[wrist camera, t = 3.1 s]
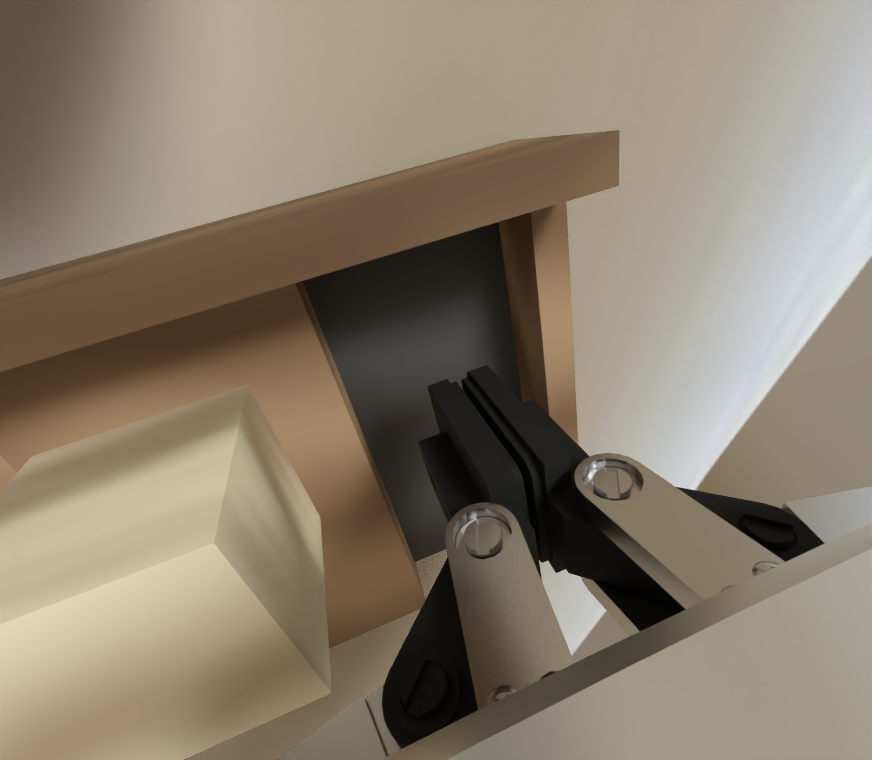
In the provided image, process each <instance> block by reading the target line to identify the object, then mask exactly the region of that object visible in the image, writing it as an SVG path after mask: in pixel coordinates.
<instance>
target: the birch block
mask: <svg viewBox="0 0 872 760" xmlns="http://www.w3.org/2000/svg"><path fill="white" fill-rule="evenodd" d="M331 693H332V685H331V670H330V655H329V640H328V625H327V610H326V595H325V580H324V565H323V550H322V535H321V520H320V516H319V514H318V512H317V510H316V508H315V506H314V505H313V503H312V501H311V499H310V497H309V496H308V494H307V492H306V490H305V488H304V486H303V485H302V483H301V481H300V479H299V477H298V475H297V474H296V472H295V470H294V468H293V466H292V464H291V463H290V461H289V459H288V457H287V455H286V453H285V452H284V450H283V448H282V446H281V444H280V442H279V441H278V439H277V437H276V435H275V433H274V431H273V430H272V428H271V426H270V424H269V422H268V420H267V419H266V417H265V415H264V413H263V411H262V410H261V408H260V406H259V404H258V402H257V400H256V399H255V397H254V395H253V393H252V391H251V389H250V388H249V386H248V385H245V386H242V387H239V388H236V389H233V390H230V391H227V392H224V393H221V394H218V395H215V396H212V397H209V398H206V399H203V400H200V401H197V402H194V403H191V404H188V405H185V406H182V407H179V408H176V409H173V410H170V411H167V412H164V413H161V414H158V415H155V416H152V417H149V418H146V419H143V420H140V421H137V422H134V423H131V424H128V425H125V426H122V427H118V428H115V429H112V430H109V431H106V432H103V433H100V434H97V435H94V436H91V437H88V438H85V439H82V440H79V441H76V442H73V443H70V444H67V445H64V446H61V447H58V448H55V449H52V450H49V451H46V452H43V453H40V454H37V455H34V456H32V457H31V458H30V459H29V460H28V461H27V462H26V463H25V465H24V466H23V467H22V468H21V469H20V470H19V471H18V472H17V474H16V475H15V476H14V477H13V478H12V479H11V480H10V481H9V482H8V484H7V485H6V486H5V487H4V488H3V489H2V490H1V491H0V760H184V759H187V758H189V757H191V756H193V755H195V754H198V753H200V752H202V751H204V750H207V749H209V748H211V747H213V746H215V745H218V744H220V743H222V742H224V741H227V740H229V739H231V738H233V737H235V736H238V735H240V734H242V733H244V732H247V731H249V730H251V729H253V728H255V727H258V726H260V725H262V724H264V723H267V722H269V721H271V720H273V719H276V718H278V717H280V716H282V715H284V714H287V713H289V712H291V711H293V710H296V709H298V708H300V707H302V706H304V705H307V704H309V703H311V702H313V701H316V700H318V699H320V698H322V697H324V696H327V695H329V694H331Z"/></svg>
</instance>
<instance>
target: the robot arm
mask: <svg viewBox="0 0 872 760" xmlns="http://www.w3.org/2000/svg"><path fill="white" fill-rule="evenodd" d="M461 383H462V388H463V390H462V388H461V387H460V385H459V384H458V383H457V382H453V383H450V382H449V380H448V379H445V380H442V381H440V382H437V383H434V384H431V385H428V392H429V395H430V399H431V403H432V406H433V410H434V413H435V417H436V421H437V424H438V428H439V432H440V433H439V434H437V435H434V436H431V437H428V438H426V439H423V440H420V441H418V444H419V447H420V451H421V454H422V457H423V460H424V463H425V466H426V469H427V472H428V475H429V478H430V480H431V483H432V486H433V488H434V491H435V493H436V496H437V498H438V501H439V503H440V505H441V508H442V510H443V513H444V515H445V517H446V520H447V522H448V526H447V529H446V531H445V543H446V548H447V553H448V558H447V560H446V562H445V564H444V566H443V568H442V569H441V571H440V573H439V575H438V577H437V579H436V581H435V583H434V585H433V587H432V589H431V591H430V593H429V595H428V597H427V599H426V601H425V603H424V604H423V606H422V608H421V610H420V612H419V614H418V616H417V618H416V620H415V622H414V624H413V626H412V628H411V630H410V632H409V634H408V636H407V638H406V639H405V641H404V643H403V645H402V647H401V649H400V651H399V653H398V655H397V657H396V659H395V661H394V663H393V665H392V667H391V669H390V671H389V673H388V676H387V678H386V681H385V684H384V685H383V686H381V687H380V688H379V689H378V690H376V691H375V692H374V693H372V694H371V695H370V696H369V697H367V698H366V699H365V697H364V696H363V694H362V695H361V696H360V697H358V698H357V699H356V700H355V701H353V702H352V703H351V704H349V705H348V706H347V707H345V708H344V709H343V710H341V711H340V712H339V713H338V714H336V715H335V716H334V717H332V718H331V719H330V720H328V721H327V722H326V723H325V724H323V725H322V726H321V727H319V728H318V729H317V730H315V731H314V732H313V733H311V734H310V735H309V736H308V737H306V738H305V739H304V740H302V741H301V742H300V743H298V744H297V745H296V746H294V747H293V748H292V749H291V750H289V751H288V752H287V753H285V754H284V755H283V756H281V757H280V758H279V759H278V760H872V486H871V487H866V488H860V489H855V490H849V491H844V492H839V493H833V494H827V495H822V496H817V497H811V498H806V499H800V500H796V501H790V502H784V504H783V507H782V508H781V509H780V508H778V507H774V506H771V505H767V504H764V503H759V502H754V501H748V500H743V499H738V498H732V497H727V496H722V495H716V494H711V493H706V492H700V491H695V490H690V489H684V488H679V487H675V486H673V485H672V484H670V483H669V482H667V481H666V480H664V479H663V478H662V477H660V476H659V475H657V474H656V473H654V472H653V471H651V470H650V469H648V468H647V467H645V466H644V465H642V464H641V463H639V462H638V461H636V460H634V459H632V458H630V457H627V456H623V455H620V454H611V453H604V454H597V455H593V456H591V457H590V456H589V455H588V454H587V453H586V452H585V451H584V450H583V449H582V448H581V447H580V446H579V445H578V444H577V443H576V442H575V441H574V440H573V439H572V438H571V437H570V436H569V435H568V434H567V433H566V432H565V431H564V430H563V429H562V428H561V427H560V426H559V425H558V424H557V423H556V422H555V421H554V420H553V419H552V418H551V417H550V416H549V415H548V414H547V413H546V412H545V411H544V410H543V409H542V408H541V407H540V406H539V405H538V404H537V403H536V402H535V401H533V400H528V401H525V402H521V401H520V400H519V399H518V398H517V397H516V396H515V395H514V393H513V392H512V391H511V390H510V389H509V388H508V387H507V386H506V385H505V384H504V383H503V382H502V381H501V380H500V378H499V377H498V376H497V375H496V374H495V373H494V372H493V371H492V370H491V369H490V368H489V367H488V366H487V365H485V366H482V367H479V368H476V369H474V370H471V371H468V372H467V378H464V379H462V380H461ZM539 560H540V561H541V562H542V563H543V562H545V561H547V560H548V561H549V563H550V564H551V566H552V567H553V569H554V570H555V572H556V573H558V572H560V571H562V570H564V569H566V570H567V571H568V573H571V574H574V575H577V576H580V577H581V578H582V581H583V583H584V584H585V586H586V587H587V589H588V590H589V591H590V592H591V593H592V594H593V595H594V597H595V598H596V599H597V600H598V601H599V602H600V603H601V604H602V606H603V607H604V608H605V609H606V610H607V611H608V612H609V613H610V615H611V616H612V617H613V618H614V619H615V620H616V621H617V622H618V623H619V624H620V626H621V627H622V628H623V629H624V630H625V631H626V632H627V634H628V635H629V636H630V637H628V638H626V639H624V640H622V641H620V642H617V643H615V644H613V645H611V646H609V647H607V648H605V649H603V650H601V651H599V652H597V653H595V654H593V655H591V656H588V657H586V658H584V659H582V660H580V661H578V662H576V663H574V661H573V659H572V656H571V654H570V651H569V649H568V646H567V644H566V641H565V639H564V636H563V634H562V631H561V629H560V626H559V624H558V621H557V618H556V616H555V613H554V611H553V608H552V606H551V603H550V601H549V598H548V596H547V593H546V591H545V588H544V586H543V583H542V579H541V572H540V565H539Z"/></svg>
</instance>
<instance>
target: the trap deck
mask: <svg viewBox="0 0 872 760" xmlns="http://www.w3.org/2000/svg"><path fill="white" fill-rule="evenodd" d="M616 186H619V130H618V131H607V132H596V133H585V134H574V135H563V136H552V137H541V138H530V139H519V140H513V141H509V142H506V143H502V144H498V145H495V146H491V147H487V148H484V149H480V150H476V151H473V152H469V153H465V154H462V155H458V156H454V157H450V158H447V159H443V160H439V161H436V162H432V163H428V164H425V165H421V166H417V167H414V168H410V169H406V170H403V171H399V172H395V173H392V174H388V175H384V176H381V177H377V178H373V179H370V180H366V181H362V182H359V183H355V184H351V185H348V186H344V187H340V188H337V189H333V190H329V191H326V192H322V193H318V194H315V195H311V196H307V197H304V198H300V199H296V200H293V201H289V202H285V203H282V204H278V205H274V206H271V207H267V208H263V209H259V210H256V211H252V212H248V213H245V214H241V215H237V216H234V217H230V218H226V219H223V220H219V221H215V222H212V223H208V224H204V225H201V226H197V227H193V228H190V229H186V230H182V231H179V232H175V233H171V234H168V235H164V236H160V237H157V238H153V239H149V240H146V241H142V242H138V243H135V244H131V245H127V246H124V247H120V248H116V249H113V250H109V251H105V252H102V253H98V254H94V255H91V256H87V257H83V258H80V259H76V260H72V261H68V262H65V263H61V264H57V265H54V266H50V267H46V268H43V269H39V270H35V271H32V272H28V273H24V274H21V275H17V276H13V277H10V278H6V279H2V280H0V491H1V490H2V489H3V488H4V487H5V486H6V485H7V484H8V482H9V481H10V480H11V479H12V478H13V477H14V476H15V475H16V474H17V472H18V471H19V470H20V469H21V468H22V467H23V466H24V465H25V463H26V462H27V461H28V460H29V459H30V458H31V457H32V456H34V455H37V454H40V453H43V452H46V451H49V450H52V449H55V448H58V447H61V446H64V445H67V444H70V443H73V442H76V441H79V440H82V439H85V438H88V437H91V436H94V435H97V434H100V433H103V432H106V431H109V430H112V429H115V428H118V427H122V426H125V425H128V424H131V423H134V422H137V421H140V420H143V419H146V418H149V417H152V416H155V415H158V414H161V413H164V412H167V411H170V410H173V409H176V408H179V407H182V406H185V405H188V404H191V403H194V402H197V401H200V400H203V399H206V398H209V397H212V396H215V395H218V394H221V393H224V392H227V391H230V390H233V389H236V388H239V387H242V386H245V385H248V386H249V388H250V389H251V391H252V393H253V395H254V397H255V399H256V400H257V402H258V404H259V406H260V408H261V410H262V411H263V413H264V415H265V417H266V419H267V420H268V422H269V424H270V426H271V428H272V430H273V431H274V433H275V435H276V437H277V439H278V441H279V442H280V444H281V446H282V448H283V450H284V452H285V453H286V455H287V457H288V459H289V461H290V463H291V464H292V466H293V468H294V470H295V472H296V474H297V475H298V477H299V479H300V481H301V483H302V485H303V486H304V488H305V490H306V492H307V494H308V496H309V497H310V499H311V501H312V503H313V505H314V506H315V508H316V510H317V512H318V514H319V516H320V520H321V535H322V550H323V565H324V580H325V595H326V610H327V625H328V640H329V648H330V647H333V646H335V645H337V644H340V643H342V642H344V641H346V640H349V639H351V638H353V637H356V636H358V635H360V634H363V633H365V632H367V631H370V630H372V629H374V628H376V627H379V626H381V625H383V624H386V623H388V622H390V621H393V620H395V619H397V618H400V617H402V616H404V615H406V614H409V613H411V612H413V611H416V610H418V609H420V608H422V606H423V604H424V603H425V601H426V598H425V595H424V591H423V588H422V585H421V581H420V578H419V574H418V571H417V568H416V564H415V562H416V561H418V560H421V559H423V558H426V557H428V556H430V555H433V554H435V553H438V552H440V551H442V550H445V549H447V548H446V543H445V531H446V529H447V526H448V522H447V520H446V517H445V515H444V513H443V510H442V508H441V505H440V503H439V501H438V498H437V496H436V493H435V491H434V488H433V486H432V483H431V480H430V478H429V475H428V472H427V469H426V466H425V463H424V460H423V457H422V454H421V451H420V447H419V444H418V441H420V440H423V439H426V438H428V437H431V436H434V435H437V434H439V433H440V432H439V428H438V424H437V421H436V417H435V413H434V410H433V406H432V403H431V399H430V395H429V392H428V385H431V384H434V383H437V382H440V381H442V380H445V379H448V380H449V382H450V383H453V382H457V383H458V384H459V385H460V387H461V388H462V383H461V380H462V379H464V378H467V372H468V371H471V370H474V369H476V368H479V367H482V366H485V365H487V366H488V367H489V368H490V369H491V370H492V371H493V372H494V373H495V374H496V375H497V376H498V377H499V378H500V380H501V381H502V382H503V383H504V384H505V385H506V386H507V387H508V388H509V389H510V390H511V391H512V392H513V393H514V395H515V396H516V397H517V398H518V399H519V400H520V401H521V402H525V401H528V400H533V401H535V402H536V403H537V404H538V405H539V406H540V407H541V408H542V409H543V410H544V411H545V412H546V413H547V414H548V415H549V416H550V417H551V418H552V419H553V420H554V421H555V422H556V423H557V424H558V425H559V426H560V427H561V428H562V429H563V430H564V431H565V432H566V433H567V434H568V435H569V436H570V437H571V438H572V439H573V440H574V441H575V442H576V443H577V444H578V433H577V413H576V392H575V371H574V351H573V330H572V310H571V289H570V268H569V248H568V227H567V207H566V201H569V200H573V199H576V198H579V197H583V196H586V195H589V194H593V193H596V192H599V191H603V190H606V189H609V188H613V187H616ZM462 390H463V388H462Z"/></svg>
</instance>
